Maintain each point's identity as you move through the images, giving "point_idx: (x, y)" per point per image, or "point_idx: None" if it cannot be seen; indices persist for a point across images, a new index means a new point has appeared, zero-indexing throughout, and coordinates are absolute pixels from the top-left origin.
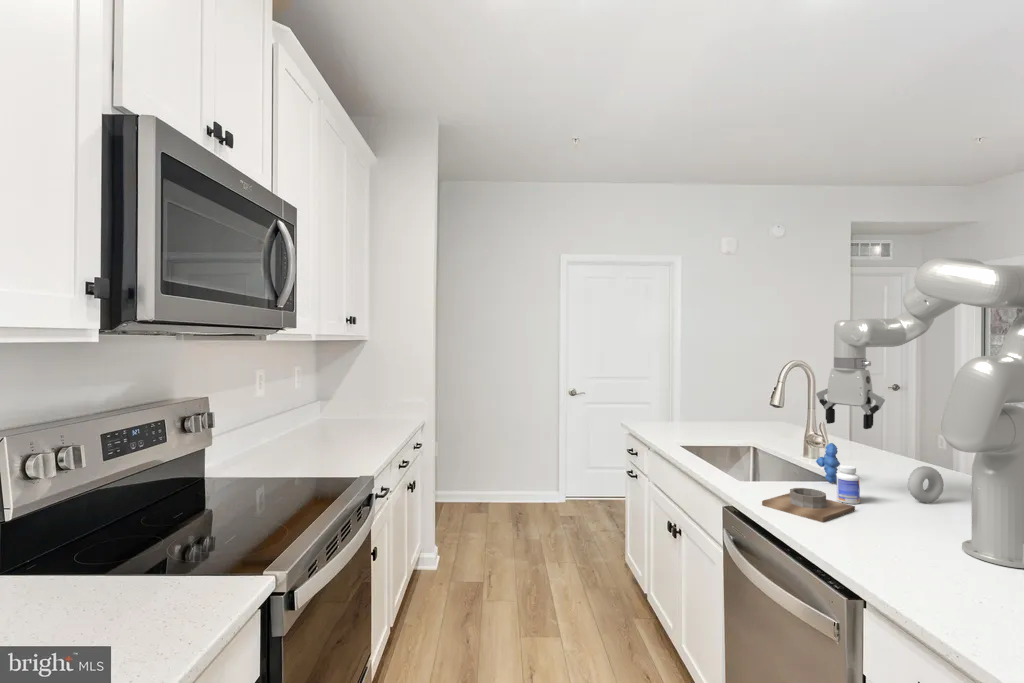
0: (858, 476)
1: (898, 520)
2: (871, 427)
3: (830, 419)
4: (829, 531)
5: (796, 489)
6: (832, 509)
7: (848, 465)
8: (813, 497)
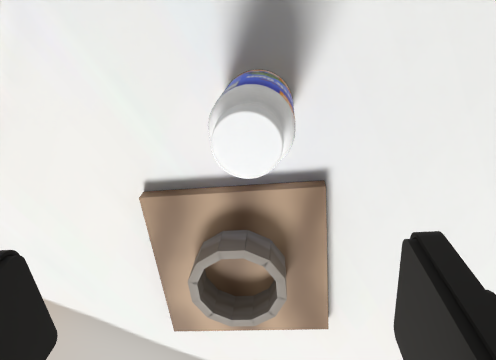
0: (287, 112)
1: (443, 158)
2: (437, 235)
3: (29, 357)
4: (366, 351)
5: (197, 284)
6: (306, 262)
7: (233, 118)
8: (275, 314)
